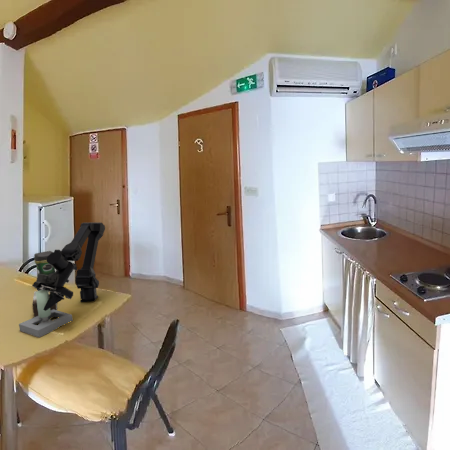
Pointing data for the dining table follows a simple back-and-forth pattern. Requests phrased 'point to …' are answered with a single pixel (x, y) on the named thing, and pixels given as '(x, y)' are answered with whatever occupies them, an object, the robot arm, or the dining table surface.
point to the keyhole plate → (45, 323)
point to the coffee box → (36, 303)
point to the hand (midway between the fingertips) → (40, 309)
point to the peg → (43, 305)
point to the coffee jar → (43, 263)
